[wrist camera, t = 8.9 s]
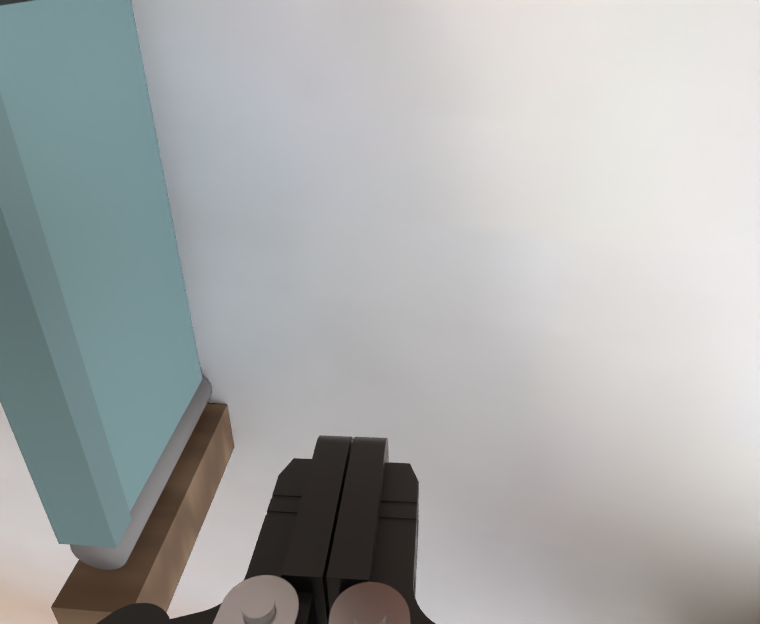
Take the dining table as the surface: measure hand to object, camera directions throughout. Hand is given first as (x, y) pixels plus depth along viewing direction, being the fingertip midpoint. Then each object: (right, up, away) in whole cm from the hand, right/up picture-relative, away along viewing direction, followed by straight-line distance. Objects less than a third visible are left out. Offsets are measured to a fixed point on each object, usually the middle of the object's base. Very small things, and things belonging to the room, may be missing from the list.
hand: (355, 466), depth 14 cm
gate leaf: (-8, +7, +11) cm, 16 cm away
